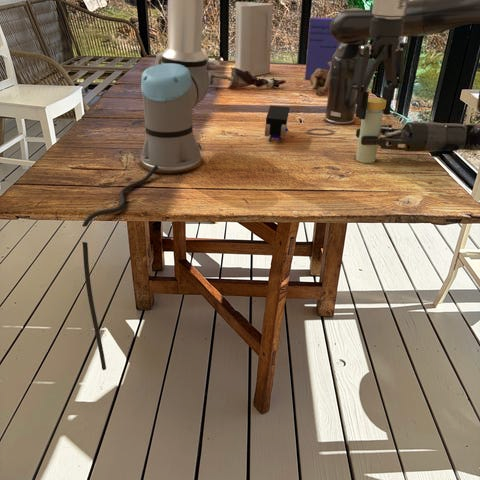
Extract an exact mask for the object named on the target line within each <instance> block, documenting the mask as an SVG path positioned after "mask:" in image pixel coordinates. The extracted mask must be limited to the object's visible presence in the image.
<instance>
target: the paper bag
mask: <svg viewBox="0 0 480 480" xmlns="http://www.w3.org/2000/svg"><path fill="white" fill-rule="evenodd" d="M273 8H274V4H273V3H269V2H267V3H266V2H265V3H264V2H252V1H235V59H234V60H235V62H234V63H235V65H234V66H235V67H234V68H237V69H240V70H242V71H244V72H245V71H249V72H250V73H251V75H252V76H256V77H257V76H259V75H260V76H261V75H266V74H270V73H271V56H272V55H271V54H272V33H273V32H272V31H273V10H274V9H273Z"/></svg>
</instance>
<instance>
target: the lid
mask: <svg viewBox="0 0 480 480" xmlns="http://www.w3.org/2000/svg"><path fill="white" fill-rule="evenodd" d="M385 107H386V100H385V99H383V98H382V97H378V96H368V103H367V109H370V110H383V109H385Z"/></svg>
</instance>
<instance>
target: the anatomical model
mask: <svg viewBox="0 0 480 480" xmlns="http://www.w3.org/2000/svg"><path fill="white" fill-rule="evenodd" d="M327 64H328V66H330V70H324V69H320V68H318V69H316V70H315V72H314V73H313V74H312V76H311V78H310V79H309V82H310V85H311V86H312V90H314V91H315V95H316V96H318V95H319V96H322V94H325V92H328V90H329V81H330V71H331V61H330V62H328V63H327Z"/></svg>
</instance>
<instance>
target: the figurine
mask: <svg viewBox="0 0 480 480" xmlns="http://www.w3.org/2000/svg"><path fill="white" fill-rule="evenodd" d="M230 69H231V72H230V73H231V74H230V76H229V75H225V74H213V73H211V74H209V85H212V84H213V83H214V79H215V78H216V79H223V80H227V81H229V84H228V88H229V89H241V88H247V87H249V86H255V87H256V88H262V87H268V88H271V89H273V88H280V86H281V85H284V84H286V83H287V80H285V79H275V78H274V77H272V78H265V77H262V78H261V77H257V76H252V75H251V73H250V72H249V71H245V72H244V71H242V70H240V69H237V68H235V67H232V66H231V67H230Z"/></svg>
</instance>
